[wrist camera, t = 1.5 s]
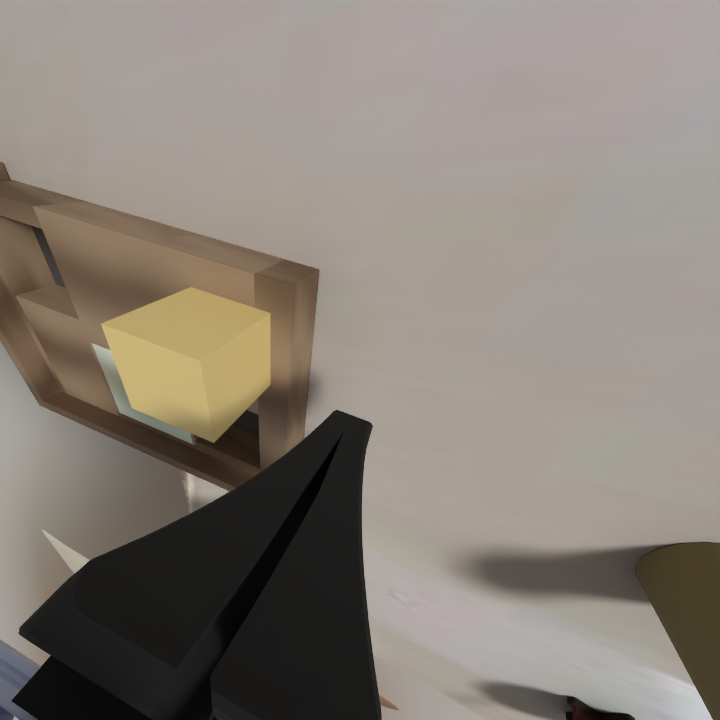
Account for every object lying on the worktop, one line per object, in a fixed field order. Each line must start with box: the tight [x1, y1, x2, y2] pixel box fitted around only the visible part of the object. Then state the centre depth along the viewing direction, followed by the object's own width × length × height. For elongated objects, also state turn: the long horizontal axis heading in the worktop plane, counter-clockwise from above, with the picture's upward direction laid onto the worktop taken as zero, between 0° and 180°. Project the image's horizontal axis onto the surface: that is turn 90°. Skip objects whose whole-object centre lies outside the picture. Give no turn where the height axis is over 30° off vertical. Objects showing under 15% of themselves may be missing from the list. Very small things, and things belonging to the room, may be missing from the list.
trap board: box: [0, 162, 319, 491], centre depth 18 cm, size 16×20×4 cm
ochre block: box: [101, 287, 271, 443], centre depth 13 cm, size 4×4×4 cm
